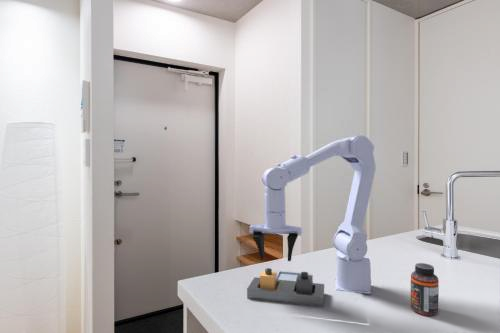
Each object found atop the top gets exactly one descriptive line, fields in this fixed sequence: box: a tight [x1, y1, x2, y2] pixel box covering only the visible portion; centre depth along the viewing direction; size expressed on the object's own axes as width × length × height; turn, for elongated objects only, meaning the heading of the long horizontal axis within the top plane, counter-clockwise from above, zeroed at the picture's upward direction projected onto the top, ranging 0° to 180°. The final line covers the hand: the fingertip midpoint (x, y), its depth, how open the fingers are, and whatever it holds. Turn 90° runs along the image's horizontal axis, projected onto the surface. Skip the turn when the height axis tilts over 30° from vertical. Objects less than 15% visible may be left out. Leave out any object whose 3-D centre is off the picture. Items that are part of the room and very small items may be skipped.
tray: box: [276, 270, 311, 281], centre depth 92 cm, size 11×11×1 cm
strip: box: [246, 276, 325, 308], centre depth 82 cm, size 20×8×3 cm, turn 75°
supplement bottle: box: [410, 262, 440, 317], centre depth 74 cm, size 6×6×11 cm
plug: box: [259, 267, 277, 290], centre depth 83 cm, size 4×4×7 cm
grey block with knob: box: [296, 271, 314, 294], centre depth 80 cm, size 4×4×7 cm
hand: (275, 259), depth 84 cm, fingers open, 7 cm apart
